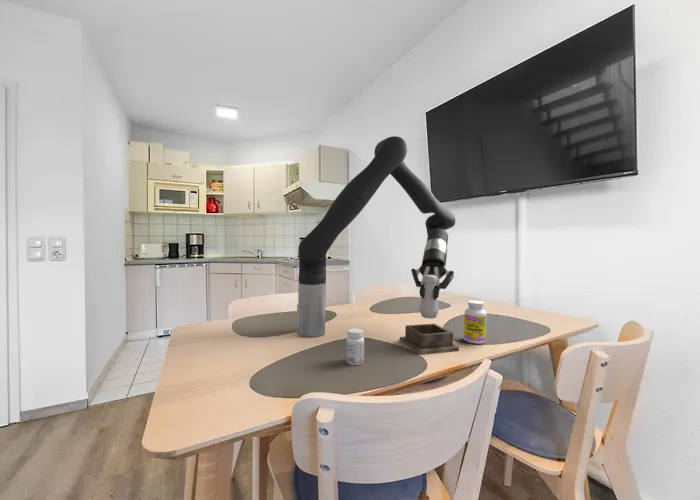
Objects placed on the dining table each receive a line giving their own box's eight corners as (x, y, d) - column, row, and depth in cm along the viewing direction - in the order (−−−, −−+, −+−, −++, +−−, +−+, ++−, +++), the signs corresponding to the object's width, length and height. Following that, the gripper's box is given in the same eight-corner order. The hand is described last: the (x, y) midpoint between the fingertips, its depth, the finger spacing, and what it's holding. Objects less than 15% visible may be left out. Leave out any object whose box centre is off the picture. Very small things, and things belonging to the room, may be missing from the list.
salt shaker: (439, 320, 95) (440, 276, 94) (419, 318, 96) (420, 275, 95) (437, 315, 101) (438, 274, 100) (419, 313, 102) (420, 273, 101)
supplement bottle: (462, 342, 102) (464, 302, 101) (463, 336, 108) (465, 299, 107) (485, 345, 99) (487, 304, 98) (485, 339, 105) (486, 300, 105)
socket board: (419, 354, 90) (420, 337, 90) (399, 339, 103) (400, 324, 103) (458, 350, 94) (459, 333, 94) (435, 337, 107) (435, 322, 106)
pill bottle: (359, 357, 87) (360, 327, 87) (366, 364, 83) (367, 332, 83) (343, 359, 86) (344, 328, 85) (349, 366, 81) (350, 333, 81)
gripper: (412, 246, 107) (403, 288, 96) (456, 248, 101) (452, 292, 91) (415, 261, 112) (407, 302, 101) (457, 263, 107) (453, 306, 96)
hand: (428, 297), depth 96 cm, fingers closed on salt shaker, 3 cm apart
